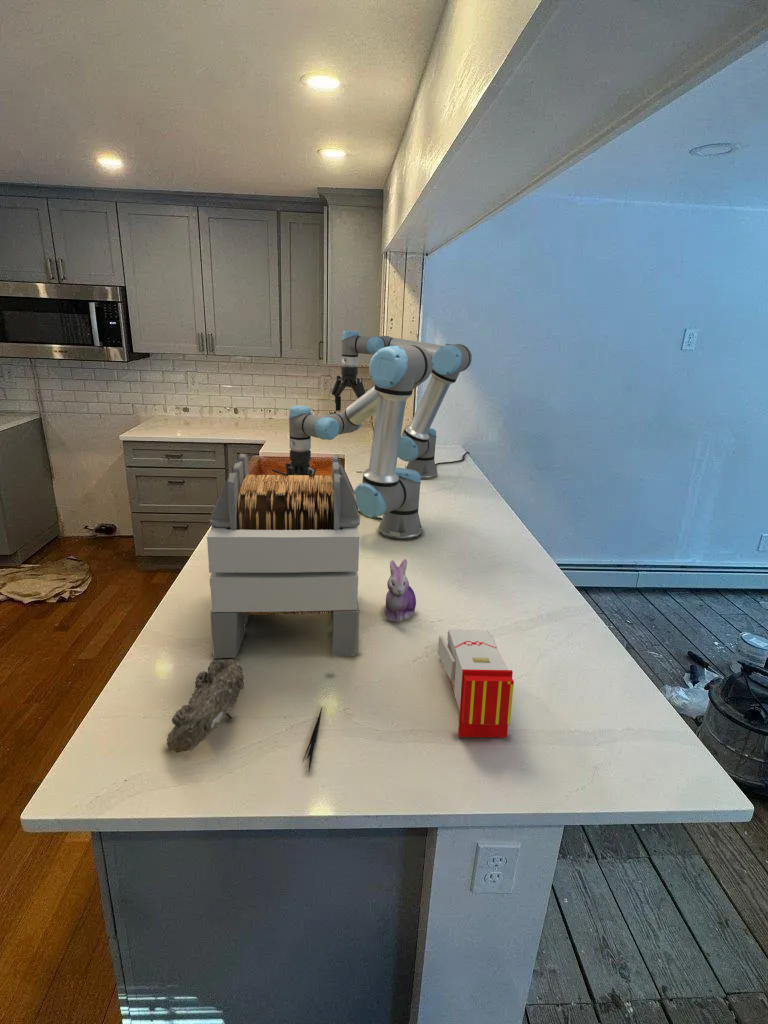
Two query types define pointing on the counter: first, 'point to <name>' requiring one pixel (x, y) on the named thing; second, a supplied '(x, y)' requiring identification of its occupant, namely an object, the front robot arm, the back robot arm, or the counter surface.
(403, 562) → the figurine
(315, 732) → the feather
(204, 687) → the fossil
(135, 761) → the counter surface
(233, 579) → the record crate stand
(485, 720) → the toy
